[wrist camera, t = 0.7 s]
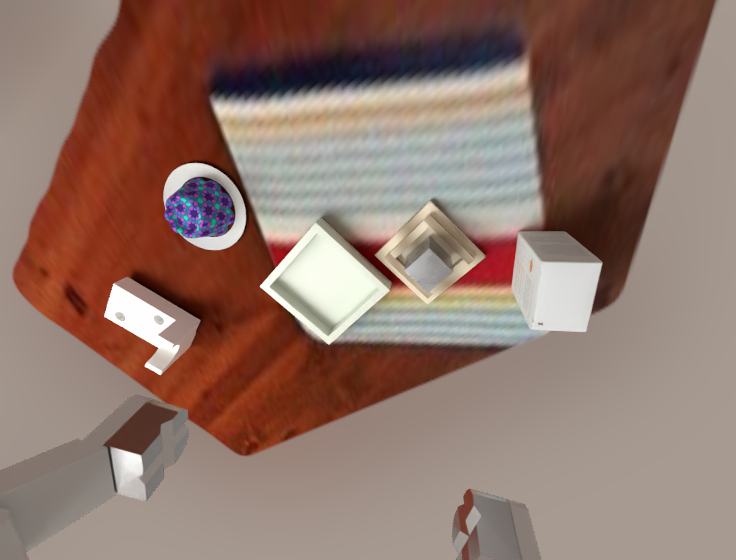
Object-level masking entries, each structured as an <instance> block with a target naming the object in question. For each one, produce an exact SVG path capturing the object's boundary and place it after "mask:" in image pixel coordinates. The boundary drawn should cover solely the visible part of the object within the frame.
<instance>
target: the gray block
mask: <svg viewBox="0 0 736 560" xmlns="http://www.w3.org/2000/svg"><path fill="white" fill-rule="evenodd" d="M404 271H405V272H406V273H407V274H408V275H409V276H410V277H411V278H412V279H413V280H415V281H416V282H417V283H418V284H419V285H420V286H421V287H422V288H423V289H424V290H425V291H426V292H427V293H429V292H430V291H431V290H432V289H434V288H435V287H436V286H437V285H438V284H440V283H441V282H442V281H443V280H444V279H446V278H447V277H448V276H449V275H450V274H452V273H453V265H452V259H451V256H450V255H449V254H448V253H447V252H446V251H445V250H444V249H443V248H442V247H441V246H440V245H439V244H438V243H437V242H436V241H435V240H434V239H433V238H432V237H431V236H430V235H429V236H428V237H427V238H426V239H425V240H424V241H422V242H421V243H420V244H419V245H418V246H417V247H416V248H415V249H414V250H413V251H412V252H411V253H409V254H408V255H407V258H406V264H405V270H404Z"/></svg>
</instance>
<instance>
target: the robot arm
mask: <svg viewBox="0 0 736 560" xmlns="http://www.w3.org/2000/svg"><path fill="white" fill-rule="evenodd" d="M187 419H188V411H187V410H186V409H183V408H179V407H176V406H173V405H170V404H166V403H163V402H160V401H156V400H154V399H150V398H146V397H143V396H140V395H134V396H132V397H129V398H128V399H127V400H126V401H125V402H124V403H123V404H121V406H119V407H118V408H117V409H116V410H115V411H114V412H113V413H112V414H111V415H109V416H108V417H107V418H106V419H105V420H104V421H103V422H102V423H101V424H100V425H99V426H98V427H96V428H95V429H94V430H93V431H92V432H91V433H90V434H89V435H88V436H87V437H86V438H84V439H83V440H82V439H75V440H73V441H70V442H68V443H66V444H63V445H61V446H59V447H56V448H53V449H51V450H48V451H46V452H44V453H41V454H39V455H36V456H34V457H32V458H29V459H26V460H24V461H22V462H19V463H17V464H15V465H12V466H9V467H7V468H5V469H2V470H0V560H29V558H28V556H27V554H26V552H28V551H29V550H31V549H32V548H34V547H35V546H37V545H39V544H40V543H42V542H43V541H45V540H46V539H48V538H50V537H51V536H53V535H54V534H56V533H57V532H59V531H61V530H62V529H64V528H65V527H67V526H69V525H70V524H72V523H73V522H75V521H76V520H78V519H79V518H81V517H83V516H84V515H86V514H87V513H89V512H90V511H92V510H94V509H95V508H97V507H98V506H100V505H101V504H103V503H105V502H106V501H108V500H109V499H111V498H112V497H114V496H115V495H116V494H115V493H117V494H120V495H124V496H128V497H132V498H135V499H139V500H143V501H147V500H148V499H149V498H150V496H151V495H152V494H153V492H154V491H155V490H156V488H157V487H158V486H159V484H160V483H161V482H162V480H163V479H164V469H166V468H167V467H169V466H171V465H173V464H175V463H176V461H177V460H178V458H179V457H180V456H181V454H182V452H183V450H184V448H185V446H186V444H187V440H188V428H187V427H186V426H185V424H184V423H185V422H186V420H187ZM452 538H453V539H452V540H453V546H454V548H455V549H456V551H457V553H458V557H457V559H456V560H541V556H540V552H539V548H538V545H537V541H536V537H535V533H534V530H533V526H532V522H531V518H530V515H529V511H528V508H527V507H526V505H525V504H522V503H519V502H515V501H511V500H508V499H505V498H503V497H499V496H495V495H491V494H488V493H484V492H480V491H476V490H472V489H468V490H467V491H466V493H465V494H464V504H463V505H460V506H458V508H457V510H456V513H455V515H454V520H453V529H452Z"/></svg>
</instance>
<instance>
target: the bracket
mask: <svg viewBox="0 0 736 560" xmlns="http://www.w3.org/2000/svg"><path fill="white" fill-rule="evenodd" d="M104 317H106V318H108V319H110V320H111V321H113V322H115V323H117V324H118V325H120V326H122V327H123V328H125V329H127V330H129V331H130V332H132V333H134V334H136V335H137V336H139V337H141V338H142V339H144V340H146V341H148V342H149V343H151V344H153V345H155V346H156V347H158V348H159V349H158V350H157V352H156V353H155V354H154V355H153V356H152V358H151V359H150V360H149V361H147V362H146V365H145V367H147V368H149V369H151V370H152V371H154V372H156V373H158V374H159V375H161V374H162V373H163V372H164V371H165V370H166V369H167V368H168V367H169V366H170V365H172V364H173V363H174V362H175V361H176V360H177V359H178V358H179V357H180V356H181V355H182V354H183V353H184V352H185V351H186V350H187V349H188V348H189V347H190V346H191V344H192V341H193V339H194V337H195V335H196V330H197V328H198V326H199V323H200V321H201V320H199V319H198V318H196V317H194V316H193V315H191V314H189V313H187V312H186V311H184V310H182V309H181V308H179V307H177V306H176V305H174V304H172V303H171V302H169V301H167V300H166V299H164V298H162V297H161V296H159V295H157V294H156V293H154V292H152V291H151V290H149V289H147V288H146V287H144V286H142V285H140V284H139V283H137V282H135V281H134V280H132V279H130V278H129V277H125V278H123V279H122V280H120V281H118V282H116V283H114V284H113V288H112V291H111V295H110V298H109V302H108V305H107V309H106V312H105V316H104Z"/></svg>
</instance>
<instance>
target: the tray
mask: <svg viewBox="0 0 736 560" xmlns="http://www.w3.org/2000/svg"><path fill="white" fill-rule="evenodd" d="M391 284H392V282H391V281H390V280H389V279H387V278H386V277H385V276H384V275H383V274H382V273H381V272H380V271H379V270H378V269H377V268H376V267H374V266H373V265H372V264H371V263H370V262H369V261H368V260H367V259H366V258H365V257H364V256H362V255H361V254H360V253H359V252H358V251H357V250H356V249H355V248H354V247H353V246H352V245H350V244H349V243H348V242H347V241H346V240H345V239H344V238H343V237H342V236H341V235H340V234H338V233H337V232H336V231H335V230H334V229H333V228H332V227H331V226H330V225H329V224H328V223H327V222H325V221H324V220H323V219H322V218H320V219H319V220H318V221H317V222H316V223H315V224H314V225H313V226H312V227H311V228H310V230H309V231H308V232H307V233H306V234H305V235H304V236H303V238H302V239H301V240H300V241H299V242H298V243H297V244H296V246H295V247H294V248H293V249H292V250H291V251H290V253H289V254H288V255H287V256H286V257H285V258H284V259H283V261H282V262H281V263H280V264H279V265H278V266H277V267H276V269H275V270H274V271H273V272H272V273H271V274H270V275H269V277H268V278H267V279H266V280H265V281H264V282H263V283H262V285H261V286H260V287H261V288H262V289H263V290H264V291H266V292H267V293H268V294H269V295H270V296H272V297H273V298H274V299H275V300H276V301H278V302H279V303H280V304H281V305H282V306H283V307H285V308H286V309H287V310H288V311H289V312H291V313H292V314H293V315H294V316H295V317H297V318H298V319H299V320H300V321H301V322H303V323H304V324H305V325H306V326H307V327H308V328H310V329H311V330H312V331H313V332H314V333H316V334H317V335H318V336H319V337H320V338H322V339H323V340H324V341H325V342H326V343H328V344H330V343H331V342H333V341H334V340H335V339H336V338H337V337H338V336H339V335H340V334H342V333H343V332H344V331H345V330H346V329H347V328H348V327H349V326H351V325H352V324H353V323H354V322H355V321H356V320H357V319H358V318H359V317H361V316H362V315H363V314H364V313H365V312H366V311H367V310H368V309H370V308H371V307H372V306H373V305H374V304H375V303H376V302H377V301H379V300H380V299H381V298H382V297H383V296H384V295H385V294H386V293H388V292H389V291H390V288H391Z"/></svg>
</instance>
